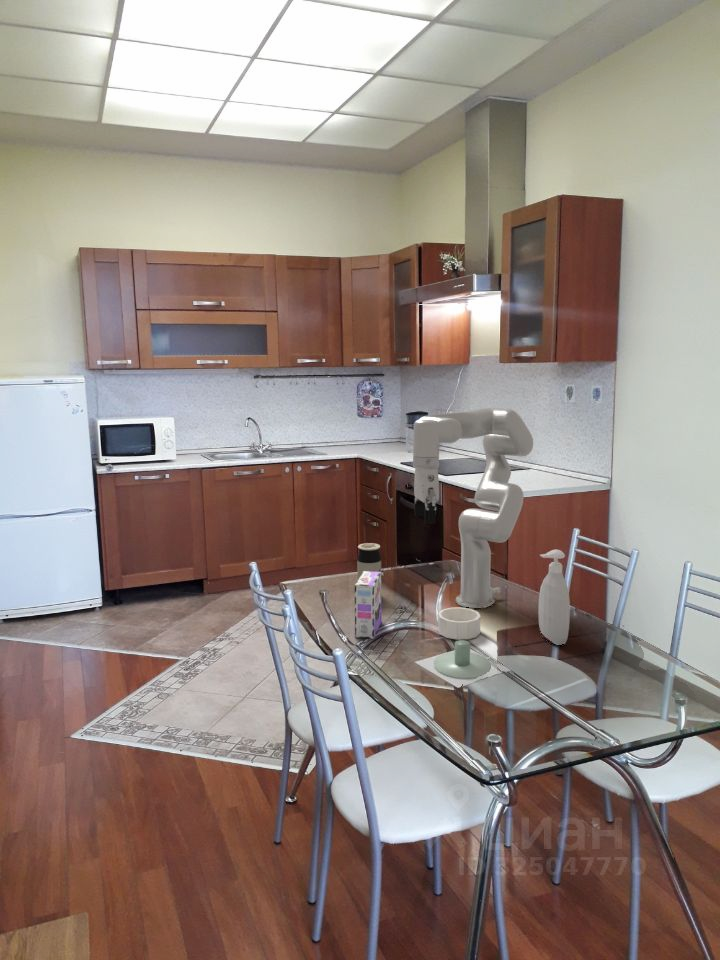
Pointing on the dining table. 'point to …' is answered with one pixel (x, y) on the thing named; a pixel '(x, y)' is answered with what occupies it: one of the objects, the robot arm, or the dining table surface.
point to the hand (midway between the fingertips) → (424, 519)
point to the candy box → (368, 604)
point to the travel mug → (368, 558)
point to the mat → (457, 682)
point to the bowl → (459, 623)
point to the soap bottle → (554, 601)
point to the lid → (462, 662)
